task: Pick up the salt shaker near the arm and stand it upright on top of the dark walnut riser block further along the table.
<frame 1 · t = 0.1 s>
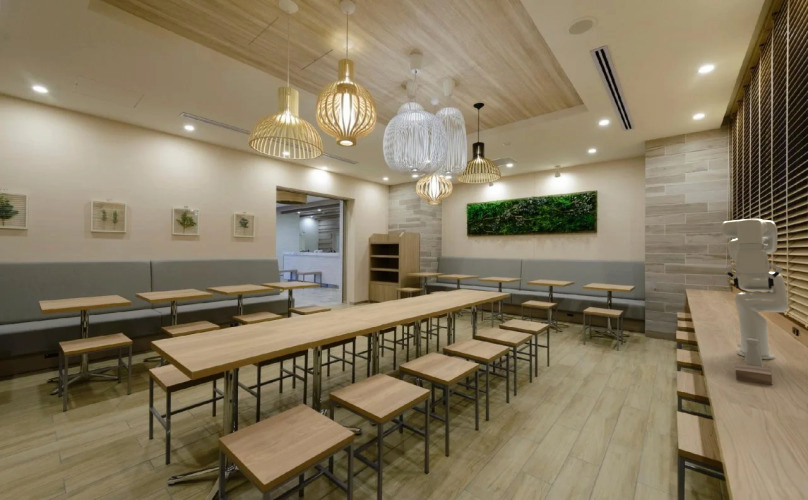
hand: (753, 287, 142), 37 cm above the table, tool pointing down, fingers open, 9 cm apart
salt shaker: (754, 368, 149), on the table
walnut riser: (753, 378, 138), on the table
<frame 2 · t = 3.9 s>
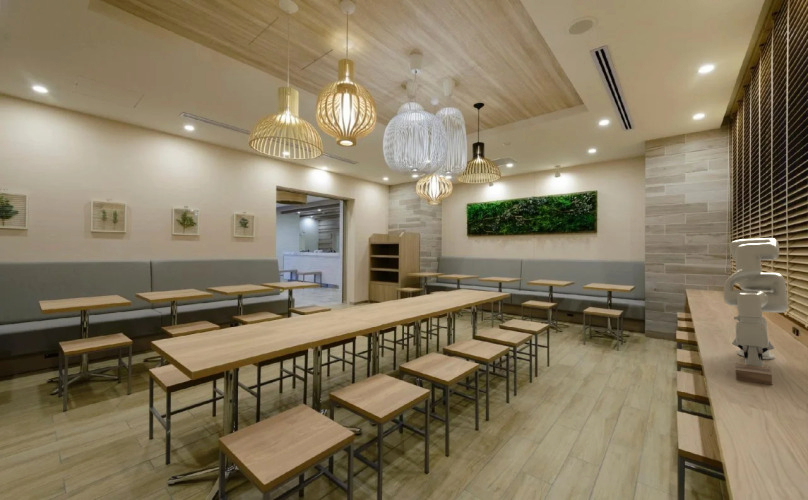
hand: (753, 360, 149), 3 cm above the table, tool pointing down, fingers closed on salt shaker, 3 cm apart
salt shaker: (754, 368, 149), on the table, touching gripper
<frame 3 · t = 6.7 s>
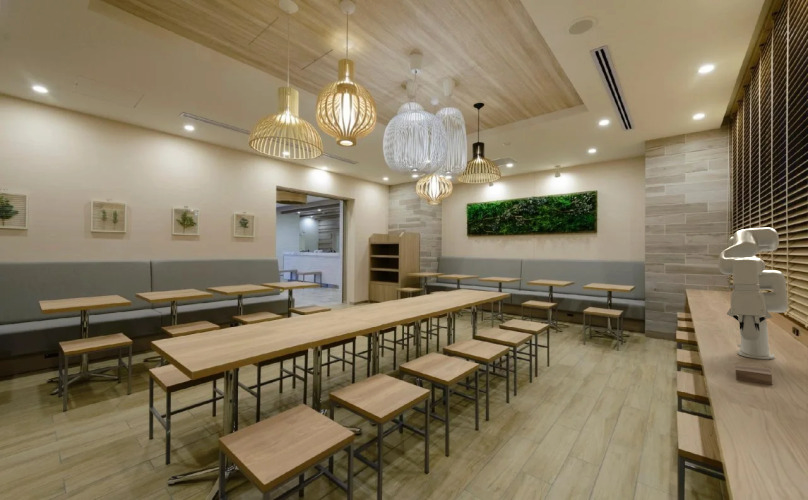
hand: (749, 331, 138), 19 cm above the table, tool pointing down, fingers closed on salt shaker, 3 cm apart
salt shaker: (750, 339, 138), point 16 cm above the table, touching gripper
when the fingers open (9 cm above the table, at t = 9.4 s): salt shaker drops 1 cm, resting on walnut riser.
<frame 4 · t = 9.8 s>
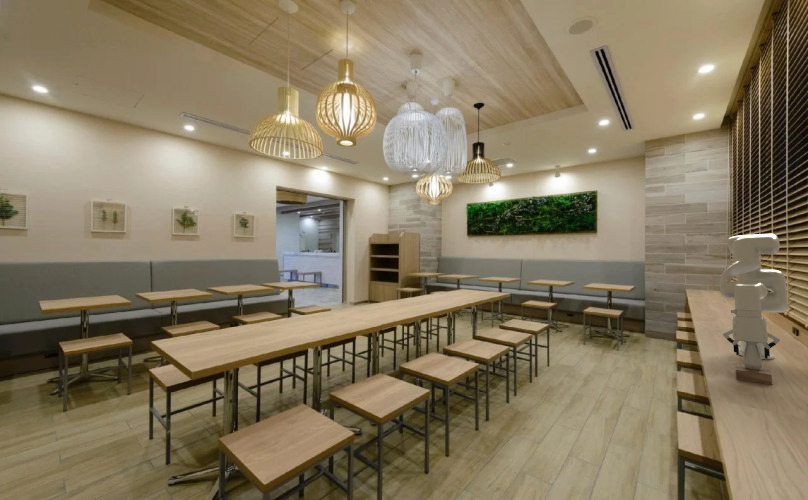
hand: (751, 355, 138), 9 cm above the table, tool pointing down, fingers open, 7 cm apart
salt shaker: (752, 368, 138), point 4 cm above the table, touching walnut riser
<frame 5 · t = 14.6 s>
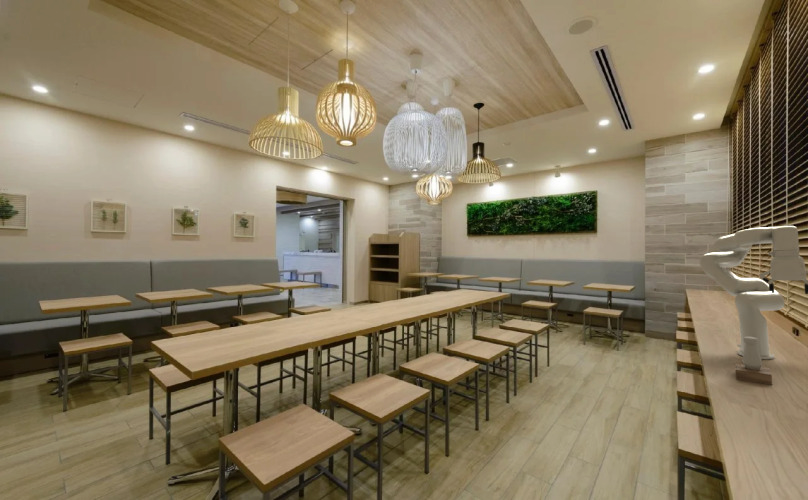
hand: (789, 293, 145), 33 cm above the table, tool pointing down, fingers open, 9 cm apart
nothing on the table moved.
at the end: salt shaker 0.2 cm off-centre on the walnut riser, point 3.8 cm above the walnut riser's base; salt shaker tilted 0°; salt shaker touching walnut riser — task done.
